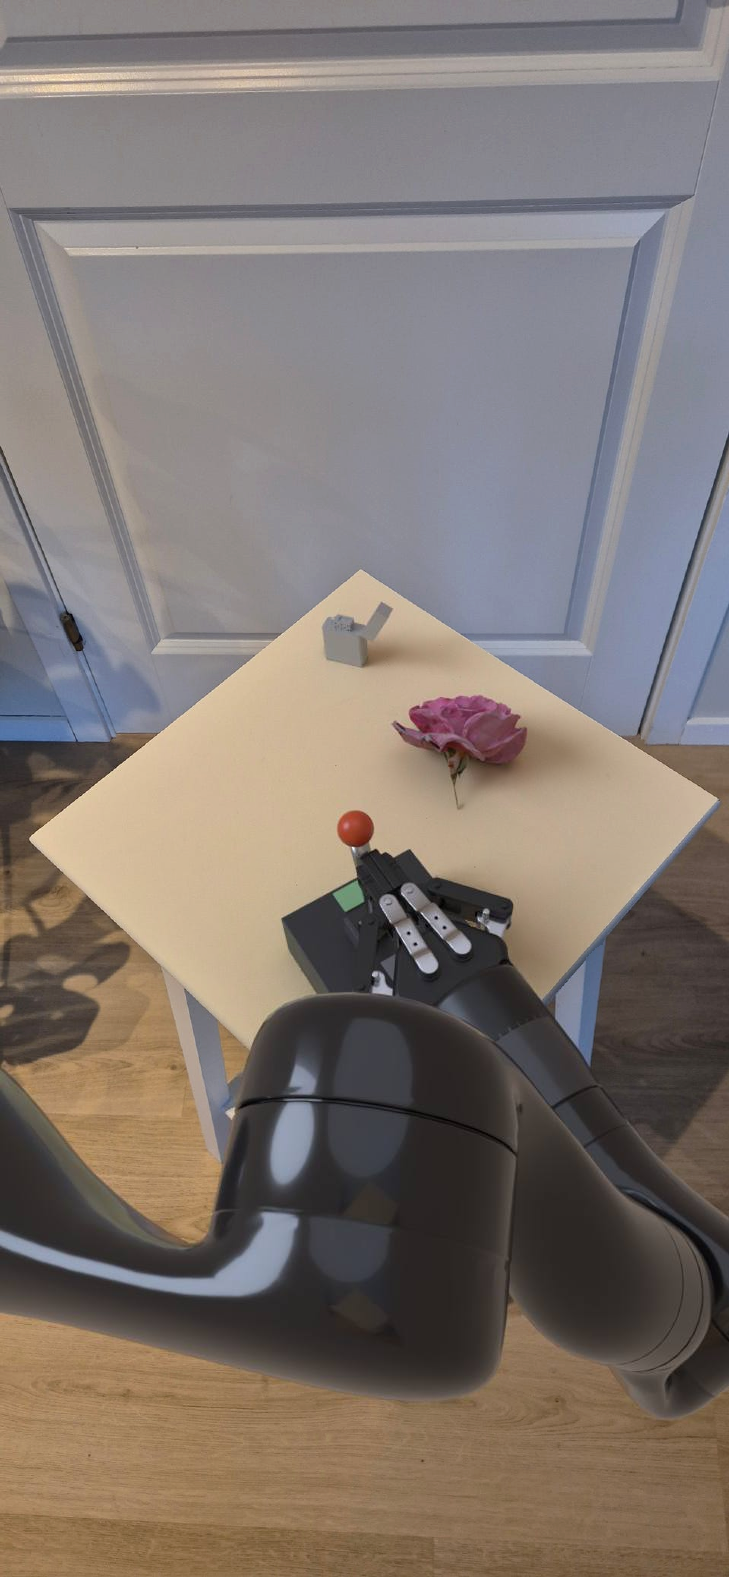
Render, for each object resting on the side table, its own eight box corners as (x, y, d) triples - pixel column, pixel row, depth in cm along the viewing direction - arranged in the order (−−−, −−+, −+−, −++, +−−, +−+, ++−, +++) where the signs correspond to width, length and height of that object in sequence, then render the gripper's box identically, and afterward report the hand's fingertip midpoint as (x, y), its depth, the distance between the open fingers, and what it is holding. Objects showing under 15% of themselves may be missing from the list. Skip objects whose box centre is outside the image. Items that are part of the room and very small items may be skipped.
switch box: (350, 1046, 77) (343, 1006, 71) (287, 948, 82) (277, 904, 76) (478, 969, 80) (482, 926, 74) (410, 880, 85) (409, 834, 80)
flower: (422, 741, 99) (468, 655, 95) (498, 801, 95) (551, 713, 91) (355, 755, 90) (403, 660, 85) (437, 822, 86) (491, 726, 81)
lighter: (324, 658, 102) (317, 599, 96) (331, 647, 103) (324, 587, 97) (389, 674, 100) (387, 614, 94) (395, 662, 101) (393, 603, 95)
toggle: (372, 949, 75) (342, 834, 68) (355, 928, 77) (324, 815, 70) (406, 930, 76) (379, 815, 69) (388, 910, 78) (361, 796, 70)
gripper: (603, 980, 60) (445, 786, 70) (418, 1093, 57) (277, 873, 66) (588, 1030, 66) (444, 846, 76) (419, 1135, 63) (290, 928, 72)
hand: (366, 859), depth 71 cm, fingers closed
